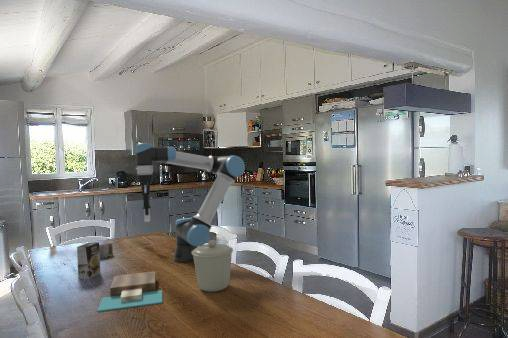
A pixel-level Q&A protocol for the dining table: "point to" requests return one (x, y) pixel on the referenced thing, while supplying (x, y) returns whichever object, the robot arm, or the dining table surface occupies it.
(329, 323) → the dining table surface
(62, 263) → the dining table surface
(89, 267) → the coffee box
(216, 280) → the canister
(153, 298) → the teal mat
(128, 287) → the walnut board
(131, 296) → the birch tile
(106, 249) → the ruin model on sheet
